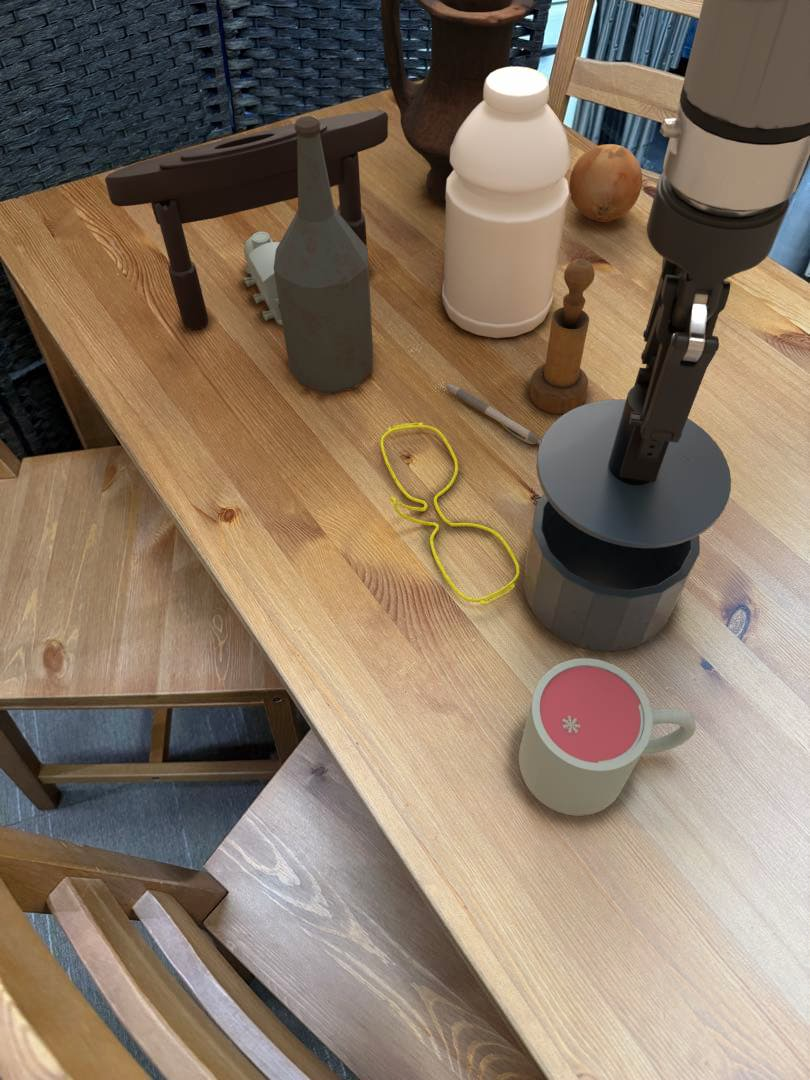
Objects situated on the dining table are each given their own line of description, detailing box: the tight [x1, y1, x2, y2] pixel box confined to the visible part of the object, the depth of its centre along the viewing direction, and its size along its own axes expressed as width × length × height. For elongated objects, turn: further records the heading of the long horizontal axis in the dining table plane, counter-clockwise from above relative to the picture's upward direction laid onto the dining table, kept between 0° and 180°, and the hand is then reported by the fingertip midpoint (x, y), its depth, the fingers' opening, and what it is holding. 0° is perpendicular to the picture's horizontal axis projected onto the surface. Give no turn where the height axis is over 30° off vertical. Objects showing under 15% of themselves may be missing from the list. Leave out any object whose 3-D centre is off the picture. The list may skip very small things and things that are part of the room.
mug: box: [518, 657, 697, 817], centre depth 69 cm, size 14×9×10 cm
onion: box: [568, 143, 643, 223], centre depth 117 cm, size 10×10×10 cm
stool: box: [104, 109, 389, 330], centre depth 103 cm, size 16×21×33 cm
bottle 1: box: [274, 115, 374, 395], centre depth 91 cm, size 10×10×30 cm
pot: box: [522, 493, 701, 652], centre depth 80 cm, size 15×15×10 cm
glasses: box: [379, 422, 521, 606], centre depth 87 cm, size 25×10×5 cm, turn 22°
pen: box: [444, 383, 542, 445], centre depth 97 cm, size 1×14×1 cm, turn 47°
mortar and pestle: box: [529, 258, 596, 415], centre depth 92 cm, size 7×6×18 cm
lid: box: [535, 382, 732, 548], centre depth 67 cm, size 16×16×9 cm
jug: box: [380, 0, 539, 206], centre depth 113 cm, size 21×18×30 cm
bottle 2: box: [441, 66, 572, 339], centre depth 98 cm, size 14×14×28 cm
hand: (638, 453), depth 68 cm, fingers closed on lid, 4 cm apart
